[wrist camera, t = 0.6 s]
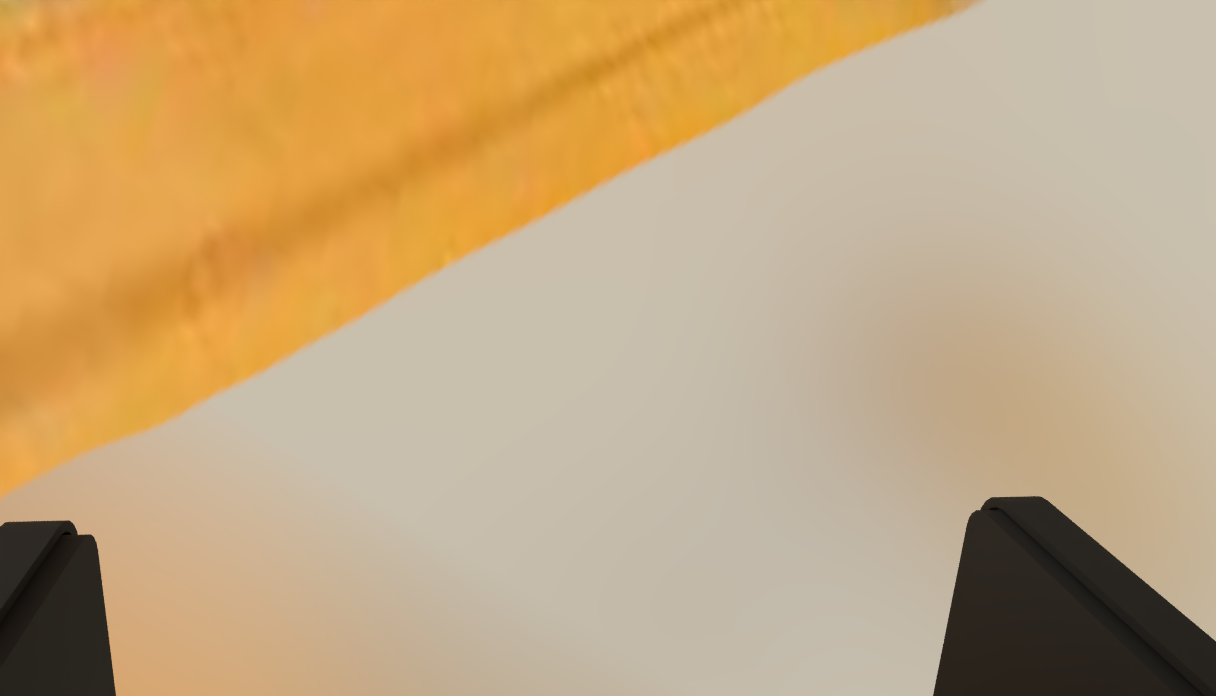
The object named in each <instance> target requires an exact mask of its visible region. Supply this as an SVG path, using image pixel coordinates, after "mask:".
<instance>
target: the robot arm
mask: <svg viewBox="0 0 1216 696" xmlns="http://www.w3.org/2000/svg"><path fill="white" fill-rule="evenodd" d="M0 696H116V693H115V686H114V677H113V669H112V661H111V652H110V645H109V637H108V629H107V620H106V612H105V604H104V596H103V588H102V580H101V573H100V564H99V555H98V549H97V544H96V541H95V539H94V537H93V536H92V535H78V534H77V530H76V528H75V526H74V525H73V523H72V522H71V521H31V522H6V523H4V524H3V525H2V526H0ZM933 696H1216V641H1215V640H1213V639H1212V638H1211V637H1210V636H1209V635H1207V634H1206V633H1205V632H1204V631H1203V630H1201V629H1200V628H1199V627H1198V626H1197V625H1195V624H1194V623H1193V622H1192V621H1190V620H1189V619H1188V618H1187V617H1186V616H1185V615H1183V614H1182V613H1181V612H1180V611H1178V609H1176V608H1175V607H1174V606H1173V605H1172V604H1170V603H1169V602H1168V601H1167V600H1166V599H1164V598H1163V597H1162V596H1161V595H1160V594H1158V593H1157V592H1156V591H1155V590H1154V589H1152V588H1151V587H1150V586H1149V585H1148V584H1146V583H1145V582H1144V581H1143V580H1142V579H1140V578H1139V577H1138V576H1137V575H1136V574H1135V573H1133V572H1132V571H1131V570H1130V569H1129V568H1127V567H1126V566H1125V565H1124V564H1123V563H1121V562H1120V561H1119V560H1118V559H1117V558H1115V557H1114V556H1113V555H1112V554H1111V553H1110V552H1108V551H1107V550H1106V549H1104V547H1102V546H1101V545H1100V544H1099V543H1098V542H1096V541H1095V540H1094V539H1093V538H1092V537H1090V536H1089V535H1088V534H1087V533H1086V532H1084V531H1083V530H1082V529H1081V528H1080V527H1078V526H1077V525H1076V524H1075V523H1074V522H1072V521H1071V520H1070V519H1069V518H1068V517H1067V516H1065V515H1064V514H1063V513H1062V512H1061V511H1059V510H1058V509H1057V508H1056V507H1055V506H1053V505H1052V504H1051V503H1050V502H1049V501H1047V500H1046V499H1044V498H1042V497H1035V496H1033V497H1032V496H1031V497H992V498H990V499H988V500H987V501H986V502H985V503H984V505H983V506H982V508H981V510H976V511H975V512H973V513H972V514H971V516H970V517H969V520H968V523H967V527H966V533H965V538H964V543H963V548H962V554H961V558H960V563H959V568H958V573H957V578H956V583H955V588H954V593H953V598H952V603H951V608H950V613H949V618H948V624H947V628H946V634H945V639H944V644H943V649H942V654H941V659H940V664H939V669H938V675H937V679H936V684H935V689H934V694H933Z"/></svg>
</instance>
